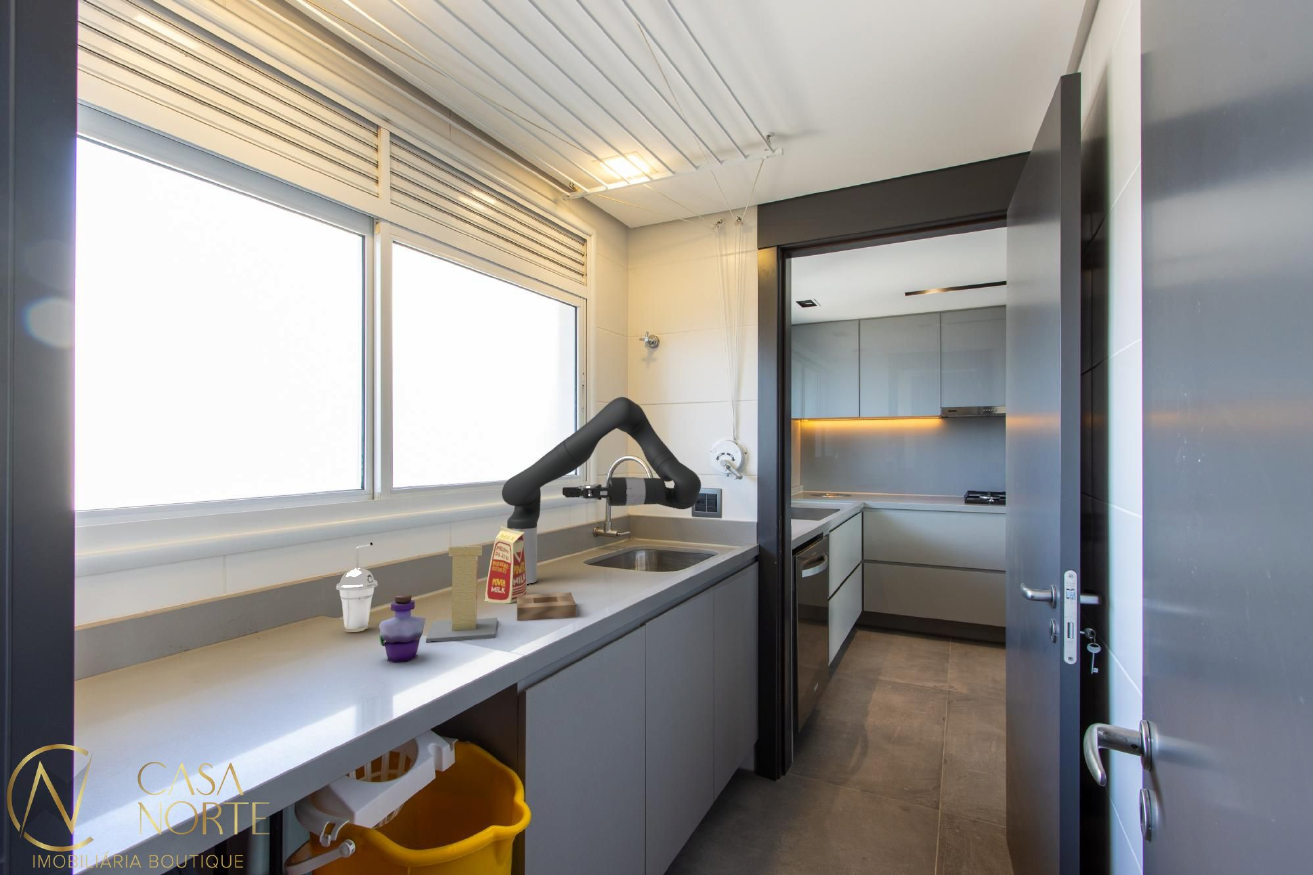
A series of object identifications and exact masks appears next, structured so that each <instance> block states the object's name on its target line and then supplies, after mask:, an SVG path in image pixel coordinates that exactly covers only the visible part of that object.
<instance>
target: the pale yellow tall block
mask: <svg viewBox="0 0 1313 875" xmlns="http://www.w3.org/2000/svg"><path fill="white" fill-rule="evenodd" d="M482 555H483V545H481V544H480V545H451V546H450V545H449V547H448V557H451V558H452V560H451V561H452V564H451V565H452V568H451V569H452V572H451V573H452V574H451V576H452V577H451V578H452V579H451V584H452V585H451V587H452V588H451V620H452V631H461V630H475V629H476V626H477V619H478V573H479V570H478V569H479V568H478V566H479V565H478V564H479V562H478V561H479V557H478V556H482Z"/></svg>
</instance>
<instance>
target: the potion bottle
mask: <svg viewBox="0 0 1313 875" xmlns="http://www.w3.org/2000/svg"><path fill="white" fill-rule="evenodd" d="M412 597H413V596H412V595H411V594H398V595H396V596H394V601H391V604H390V612H391V611H392V612H394V617H392V618H388V619H385V620H382V621H381V622H380V623H379V624H378V627H379V632H380V633H379V641H380V645H381V646H382V647H385V652H386V653H385V654H386V656H387V657H386V658H387V659H386V661H387V662H388V663H389V662H390V663H393V664H396V663H407V662H411V661H413V660H416V659H417V657H418V651H419V645H420V641H421V638H422V636H423V633H424V630H425V623H426V619H427V618H426V617H420V616H417V615H416V616H415V615H412V611H413V610H414V609H415V607H416V601H415V600H413V599H412Z"/></svg>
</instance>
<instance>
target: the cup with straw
mask: <svg viewBox="0 0 1313 875" xmlns="http://www.w3.org/2000/svg"><path fill="white" fill-rule="evenodd" d="M371 546H374V544H373V542H372V541H371V542H364V543H360V544H359V543H358V544H357V545H356V546H355V549H354V550H355V551H354V554H355V555H354V556H355V557H354V558H355V559H354V568H351V569H349V570H347V571H345V573H344V574H343V575H342V577H341V579H340V580H339V582H338V583H337V584H336V587H335V589H336V590H337V591H339V596H340V600H341V607H342V608H341V609H342V617H343V627H344V628H346V629H360V628H364V627H366V626H367V627H368V624H369V620H370V612H371V607H372V606H371V605H372V598H373V595H374V591H375V587H378V585H379V584H378V581H377V579H376V580H375V578H374V575H373V573H372V572H371V571H370V570H368V569H366V568H363V567H359V563H360V562H359V560H360V559H359V558H360V556H359V555H360V548H365V547H371Z"/></svg>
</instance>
